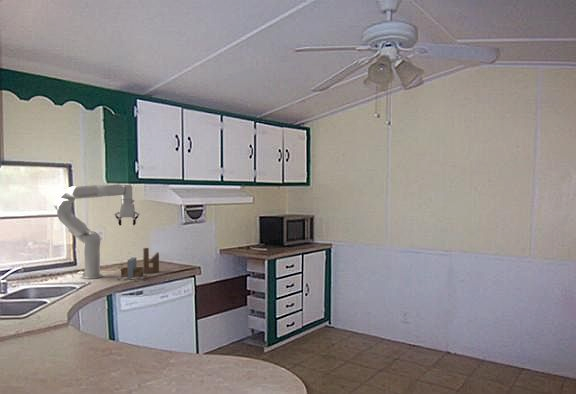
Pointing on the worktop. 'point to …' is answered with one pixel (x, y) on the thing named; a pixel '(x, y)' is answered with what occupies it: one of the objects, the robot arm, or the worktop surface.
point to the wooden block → (153, 260)
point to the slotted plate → (131, 267)
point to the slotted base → (137, 274)
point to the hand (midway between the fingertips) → (127, 225)
